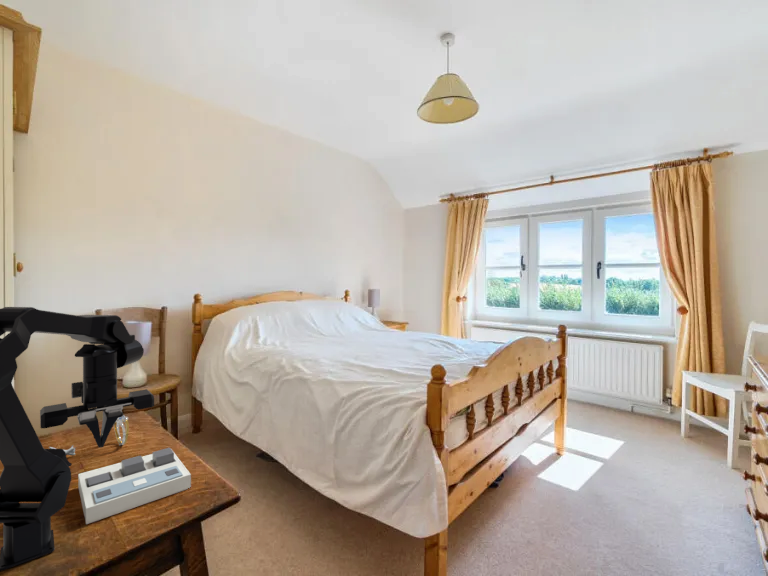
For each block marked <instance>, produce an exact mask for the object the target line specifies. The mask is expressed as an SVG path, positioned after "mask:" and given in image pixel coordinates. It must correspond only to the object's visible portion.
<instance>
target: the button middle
mask: <svg viewBox="0 0 768 576" xmlns="http://www.w3.org/2000/svg"><path fill="white" fill-rule="evenodd" d="M142 457H143V456H142V455H141V454H140V455H137V456H134V457H129V458H126V459H122V460H121V462H122V475H123V477H125V476H128V475H132V474H135V473H139V472H142V471H144V461H143V459H142Z"/></svg>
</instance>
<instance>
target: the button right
mask: <svg viewBox="0 0 768 576" xmlns="http://www.w3.org/2000/svg"><path fill="white" fill-rule="evenodd" d="M171 449H172V448H171V447H166V448H162V449H159V450H155V451H152V454H153V465H154V467H159V466H162V465H166V464H169V463H172V462H174V453H175V451H174V450H173V449H172V450H173V451H172V450H171Z"/></svg>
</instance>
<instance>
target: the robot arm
mask: <svg viewBox="0 0 768 576" xmlns="http://www.w3.org/2000/svg"><path fill="white" fill-rule="evenodd" d="M5 333H7V334H5ZM34 333H35V334H38V333H39V334H48V335H49V334H51V335H63V336H67V337H70V338H71V339H72V340H75V341H79V342H83V343H85V344H83V345H82V347H80V349H78V350H77V351H76V352H75V354H74V357H75V358H82V381H78V382H72V383H71V388H70V389H71V390H70V391H71V399H76V398H81V400H80V401H81V402H80V403H82V405H76V406H69V407H68V406H67V402H64V403H63V402H62V403H58V404H52V405H47V406H42V408H41V409H40V410H39V421H40V424H39V425H40V426H39V427H40V429H49V428H54V427H59V426H63V425H64V424H65V423H66V422H67V421H68V420H69V418H71V417H77V421H78V424H79V425H80V426H84V425H85V426H87V428H88V429H89V431H90V432H91V434H92V435H93V439H94V440H95V443H96V445H97V447H98V448H99V449H100V448H104V446H105V444H106V441H107V439H108V437H109V434H110V432H112V431H111V430H112V428H114V424H115V422H116V420H117V419H118V418H119V417H122V416H123V415H124V412H123V411H122V410H123V409H124V407H125V408H126V407H130V406H133V408H135V409H136V410H144V409H150V408H152V407H154V406H155V396H154V394H153V393H152V392H151V391H150V390H148V389H147V388H146V389H140V390H136V391H135V390H133V391H129V393H128V396H127V397H122V398H118V369H121V368H123V367H126V366H128V365H132V364H134V363H136V362H138V361H140V360H142V357H143V355H144V351H145V350H144V347H143V344H141V342H140V341H139V340H137V339H136V336H135V334H130V333H129V331H128V329H127V327H126V326H125V324H124V323H123V321H122V317H120V316H119V315H114V314H113V315H112V314H81V315H80V314H79V315H77V314H76V315H75V314H68V313H62V312H54V311H49V310H42V309H38V308H35V307H31V306H5V307H2V308H0V462H1V463H2V466H3V470H2V471H1V473H0V524H2V525H3V528H2V533H3V534H2V535H3V536H2V537H3V539H2V540H3V542H2V543H3V546H2V547H0V572H1V571H5V570H9V569H11V568H13V567H16V566H19V565H22V564H24V563H27V562H29V561H32V560H34V559H37V558H40V557H43V556H45V555H48V554H50V553H53V552H54V551H55V549H56V548H55V536H54V530H53V529H52V527H51V526H52V524H51V523H52V522H51V519H52V518H51V517H53V516H54V515H55V514H56V513H58V512H59V511H61V510H62V509H63V508H64V507H65V505H66V501H67V498H68V497H67V496H68V494H69V493H68V492H69V490H70V485H71V480H72V472H71V468H70V467H71V466H72V465H73V464H72V463H71V462H70V461H69V460H68V458H67V455H66V453H65V451H64V450H65V449H63V448H56V449H50V448H45V447H44V446H43V444H42V442H41V440H40V439H39V436H38V434H37V433H36V431H35V428H34V427H33V424H32V421H31V420H30V418H29V417H28V414H27V412H26V410H25V408H24V406H23V404H22V402H21V400H20V398H19V396H18V394H17V392H16V390H15V389H14V386H13V380H14V377H15V375H16V372H17V370H18V363H17V360H16V359H17V358H18V357H20V355H21V354H23V353H24V352H25V351H26V350H27V349H28V348H29V345H30V341H31V338H32V335H33V334H34ZM4 334H5V336H4V337H2V338H1V336H3V335H4ZM87 343H89V344H87ZM98 412H102V421H101V422H102V423H101V431H100V426H99V425H100V423H99V419H98V416H97V413H98Z"/></svg>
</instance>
